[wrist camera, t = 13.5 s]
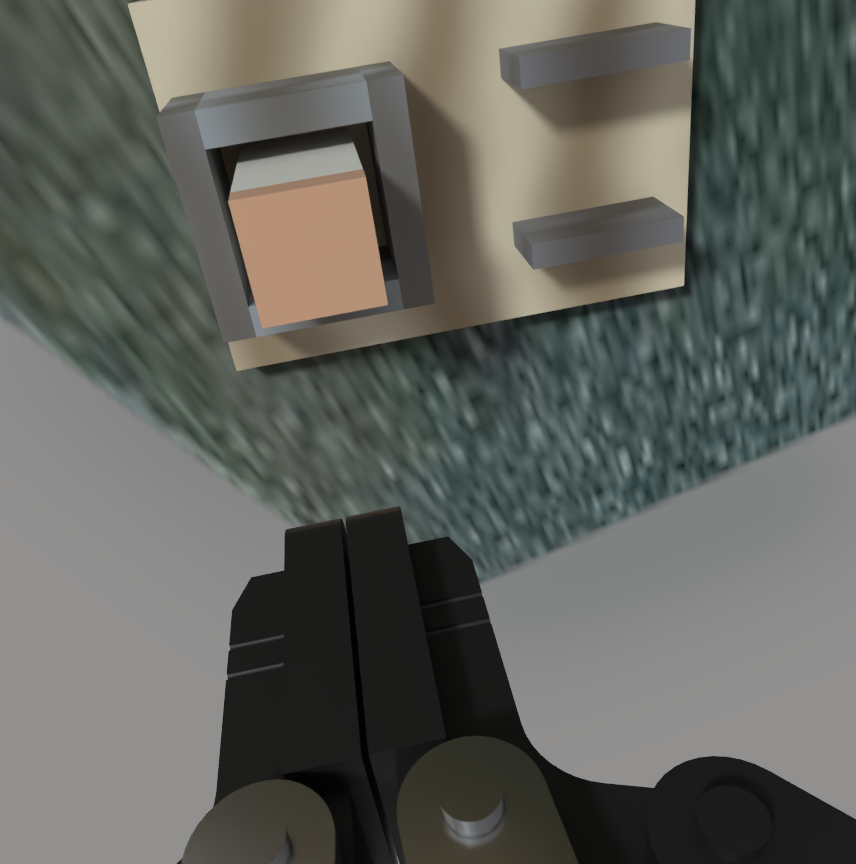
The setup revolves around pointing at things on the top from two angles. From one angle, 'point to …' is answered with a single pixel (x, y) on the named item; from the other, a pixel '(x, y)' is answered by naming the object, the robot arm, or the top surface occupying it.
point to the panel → (440, 148)
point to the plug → (306, 227)
